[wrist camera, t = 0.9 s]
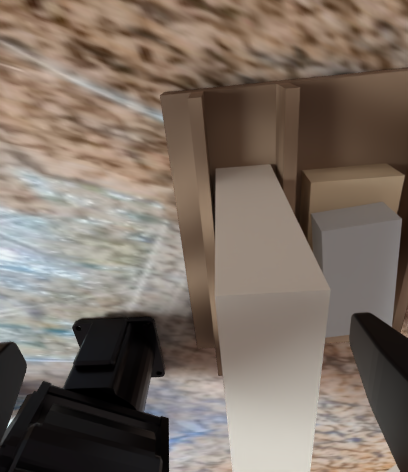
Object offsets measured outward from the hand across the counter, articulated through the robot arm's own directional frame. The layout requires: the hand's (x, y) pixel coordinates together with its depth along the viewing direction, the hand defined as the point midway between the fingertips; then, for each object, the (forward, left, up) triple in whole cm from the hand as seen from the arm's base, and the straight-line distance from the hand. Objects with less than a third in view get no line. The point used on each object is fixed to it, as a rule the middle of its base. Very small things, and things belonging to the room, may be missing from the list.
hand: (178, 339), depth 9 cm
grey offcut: (-5, -8, -10) cm, 13 cm away
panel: (-4, -3, -12) cm, 13 cm away
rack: (-4, -5, -13) cm, 15 cm away
